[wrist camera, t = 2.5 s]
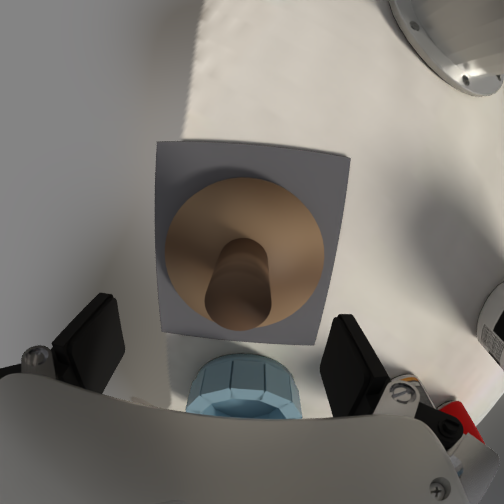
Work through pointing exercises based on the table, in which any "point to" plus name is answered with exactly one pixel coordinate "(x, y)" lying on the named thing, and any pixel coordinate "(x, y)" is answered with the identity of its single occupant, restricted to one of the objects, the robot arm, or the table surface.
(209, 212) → the lid
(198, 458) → the robot arm
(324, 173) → the mat
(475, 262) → the table surface
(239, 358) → the bowl
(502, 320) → the supplement can
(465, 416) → the beverage can
